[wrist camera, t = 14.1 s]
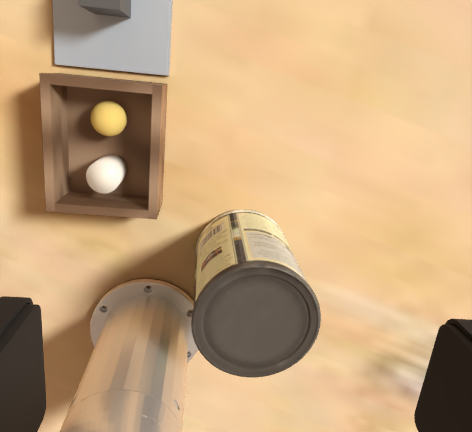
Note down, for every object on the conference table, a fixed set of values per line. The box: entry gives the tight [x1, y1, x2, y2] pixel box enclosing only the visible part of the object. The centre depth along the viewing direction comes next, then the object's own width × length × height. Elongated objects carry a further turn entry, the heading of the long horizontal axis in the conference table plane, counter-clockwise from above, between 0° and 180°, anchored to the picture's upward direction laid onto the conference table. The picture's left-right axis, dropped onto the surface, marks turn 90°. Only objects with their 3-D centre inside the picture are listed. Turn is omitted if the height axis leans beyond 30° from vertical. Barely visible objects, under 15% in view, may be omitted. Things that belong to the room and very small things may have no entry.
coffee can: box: [191, 210, 321, 377], centre depth 40 cm, size 10×10×14 cm
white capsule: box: [86, 153, 128, 193], centre depth 40 cm, size 3×3×4 cm
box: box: [39, 73, 167, 219], centre depth 39 cm, size 12×10×5 cm
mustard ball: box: [91, 101, 127, 136], centre depth 39 cm, size 3×3×3 cm
